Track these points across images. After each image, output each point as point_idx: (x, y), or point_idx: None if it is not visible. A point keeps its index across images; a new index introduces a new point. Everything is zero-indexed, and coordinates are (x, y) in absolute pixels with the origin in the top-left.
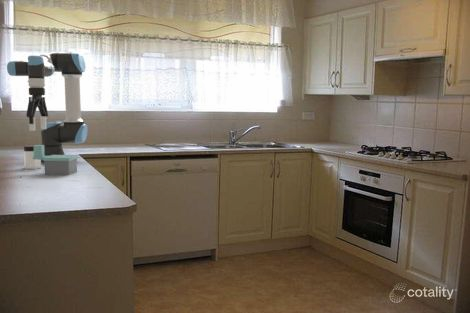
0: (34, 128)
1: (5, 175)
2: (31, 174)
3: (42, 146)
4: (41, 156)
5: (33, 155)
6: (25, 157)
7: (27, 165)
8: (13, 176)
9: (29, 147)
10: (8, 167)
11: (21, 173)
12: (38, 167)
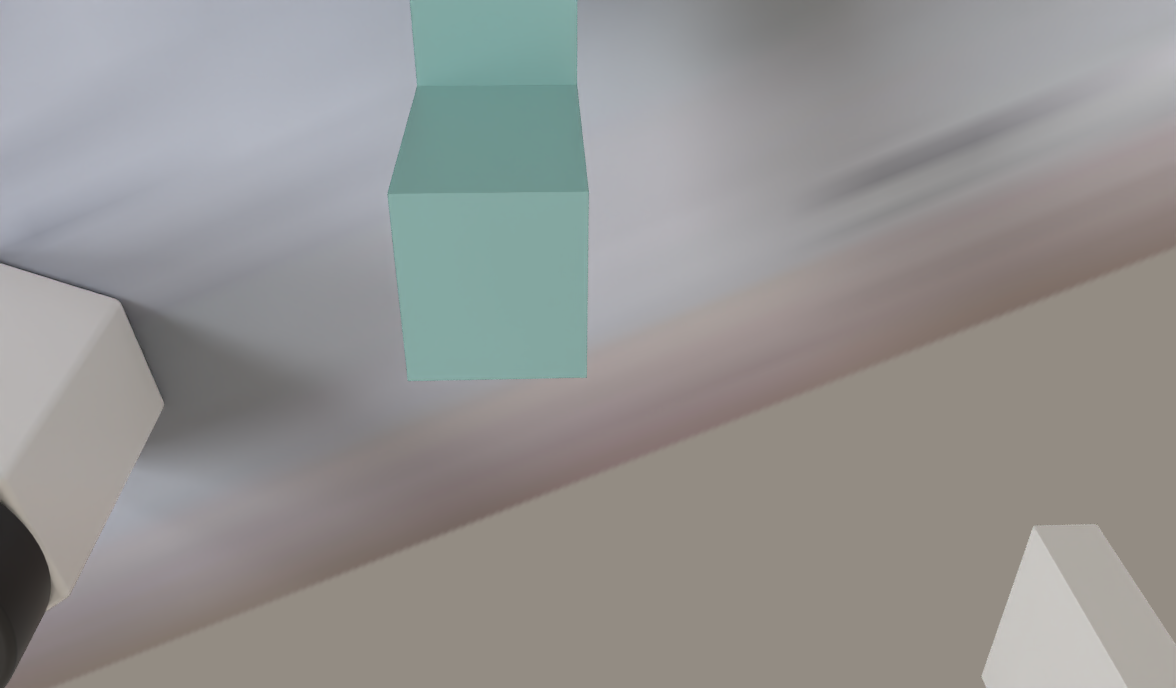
0: (1142, 603)
1: (781, 392)
2: (691, 111)
3: (515, 178)
4: (576, 91)
5: (43, 440)
6: (105, 522)
7: (144, 415)
8: (876, 269)
9: (7, 602)
10: (113, 625)
11: (598, 285)
12: (37, 278)
